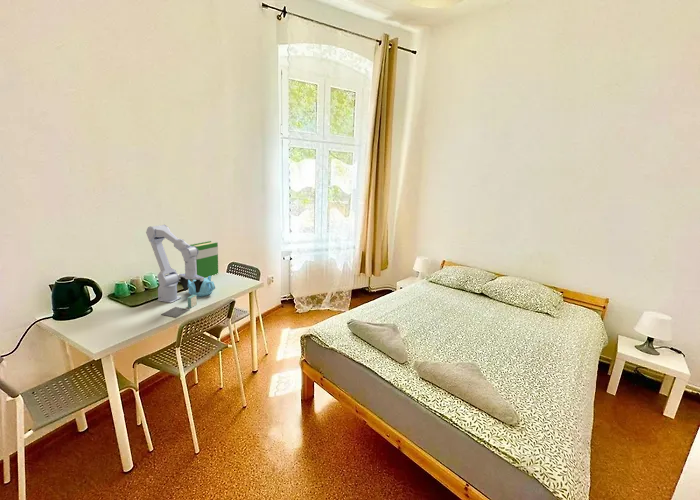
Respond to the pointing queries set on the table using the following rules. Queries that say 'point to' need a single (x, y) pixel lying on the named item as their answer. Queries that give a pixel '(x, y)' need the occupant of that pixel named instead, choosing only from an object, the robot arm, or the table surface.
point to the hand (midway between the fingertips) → (191, 291)
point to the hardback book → (207, 258)
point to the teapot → (202, 287)
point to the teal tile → (192, 301)
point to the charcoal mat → (175, 312)
